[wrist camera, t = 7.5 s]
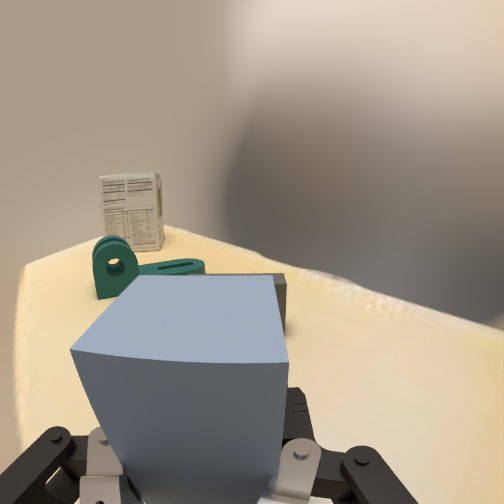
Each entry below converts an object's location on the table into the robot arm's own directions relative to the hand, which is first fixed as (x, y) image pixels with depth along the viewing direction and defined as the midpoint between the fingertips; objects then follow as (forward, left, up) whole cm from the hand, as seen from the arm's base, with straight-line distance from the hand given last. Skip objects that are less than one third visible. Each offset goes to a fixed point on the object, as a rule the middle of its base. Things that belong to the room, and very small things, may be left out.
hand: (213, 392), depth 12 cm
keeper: (0, +3, -7) cm, 8 cm away
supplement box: (+26, -57, -8) cm, 63 cm away
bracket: (+14, -33, -8) cm, 36 cm away
